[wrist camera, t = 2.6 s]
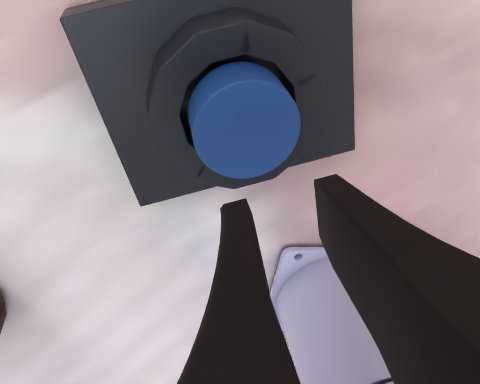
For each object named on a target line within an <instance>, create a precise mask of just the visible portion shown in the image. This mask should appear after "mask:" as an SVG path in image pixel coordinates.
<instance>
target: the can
mask: <svg viewBox="0 0 480 384" xmlns="http://www.w3.org/2000/svg"><path fill="white" fill-rule="evenodd" d="M5 317H6V309H5V304H4V301H3V299H2V298H1V296H0V333H1V330H2V327H3V324H4V320H5Z"/></svg>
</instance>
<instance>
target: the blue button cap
mask: <svg viewBox="0 0 480 384" xmlns="http://www.w3.org/2000/svg"><path fill="white" fill-rule="evenodd" d="M188 119H189V124H190V129H191V133H192V138H193V143H194V147H195V150H196V152H197V154H198V156H199V158H200V159H201V160H202V162H203V163H204V164H205V165H206V166H207V167H209V168H210V169H211V170H213V171H214V172H216V173H218V174H220V175H223V176H226V177H230V178H238V179H244V178H252V177H257V176H260V175H263V174H265V173H267V172H269V171H271V170H273V169H275V168H276V167H277V166H279V165H280V164H281V163H282V162H283V161H284V160H285V159H286V158H287V157H288V156H289V155H290V153H291V152H292V150H293V149H294V147H295V145H296V143H297V140H298V137H299V133H300V125H301V124H300V114H299V110H298V108H297V105H296V103H295V101H294V100H293V98H292V97H291V96H290V94H289V93H288V91H287V90H286V89H285V87H284V86H283V84H282V83H281V82H280V80H279V79H278V78H277V76H276V75H275V74H274V73H273V72H271V71H270V70H268V69H267V68H265V67H263V66H261V65H258V64H256V63H251V62H232V63H228V64H225V65H222V66H219V67H217V68H215V69H214V70H212V71H210V72H209V73H208V74H207V75H205V76H204V77H203V78H202V79H201V80H200V81H199V83H198V84H197V86H196V87H195V89H194V91H193V93H192V95H191V98H190V101H189V105H188Z"/></svg>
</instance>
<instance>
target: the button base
mask: <svg viewBox="0 0 480 384" xmlns="http://www.w3.org/2000/svg"><path fill="white" fill-rule="evenodd" d="M60 21H61V24H62V26H63V28H64V31H65V33H66V35H67V37H68V40H69V42H70V44H71V47H72V49H73V51H74V54H75V56H76V58H77V61H78V63H79V65H80V68H81V70H82V72H83V75H84V77H85V79H86V82H87V84H88V86H89V88H90V91H91V93H92V95H93V98H94V100H95V102H96V105H97V107H98V109H99V112H100V114H101V116H102V119H103V121H104V123H105V126H106V128H107V130H108V133H109V135H110V137H111V139H112V142H113V144H114V146H115V149H116V151H117V153H118V156H119V158H120V160H121V163H122V165H123V167H124V170H125V172H126V174H127V177H128V179H129V181H130V184H131V186H132V188H133V190H134V193H135V195H136V197H137V200H138V202H139V204H140V206H145V205H149V204H152V203H156V202H160V201H164V200H167V199H171V198H175V197H179V196H182V195H186V194H190V193H194V192H197V191H201V190H205V189H209V188H212V187H216V186H219V187H225V188H231V189H236V188H240V187H244V186H248V185H251V184H255V183H259V182H263V181H266V180H270V179H273V178H275V177H277V176H278V175H279V174H280V173H282V172H283V171H284V170H285V169H287V168H288V167H291V166H295V165H299V164H302V163H306V162H310V161H314V160H317V159H321V158H325V157H329V156H332V155H336V154H340V153H344V152H347V151H351V150H354V149H355V135H354V86H353V37H352V0H100V1H96V2H92V3H88V4H84V5H80V6H76V7H72V8H68V9H65V11H64V13H63V14H62V16H61V18H60ZM232 62H251V63H256V64H258V65H261V66H263V67H265V68H267V69H268V70H270V71H271V72H273V73H274V74H275V75H276V76H277V78H278V79H279V80H280V82H281V83H282V84H283V86H284V87H285V89H286V90H287V91H288V93H289V94H290V96H291V97H292V98H293V100H294V101H295V103H296V105H297V108H298V110H299V114H300V124H301V125H300V133H299V137H298V140H297V143H296V145H295V147H294V149H293V150H292V152H291V153H290V155H289V156H288V157H287V158H286V159H285V160H284V161H283V162H282V163H281V164H280V165H279V166H277V167H276V168H275V169H273V170H271V171H269V172H267V173H265V174H263V175H260V176H257V177H252V178H244V179H238V178H230V177H226V176H223V175H220V174H218V173H216V172H214V171H213V170H211V169H210V168H209V167H207V166H206V165H205V164H204V163H203V162H202V160H201V159H200V158H199V156H198V154H197V152H196V150H195V147H194V143H193V138H192V133H191V129H190V124H189V119H188V105H189V101H190V98H191V95H192V93H193V91H194V89H195V87H196V86H197V84H198V83H199V81H200V80H201V79H202V78H203V77H204V76H205V75H207V74H208V73H209V72H210V71H212V70H214V69H215V68H217V67H219V66H222V65H225V64H228V63H232Z"/></svg>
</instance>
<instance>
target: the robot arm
mask: <svg viewBox="0 0 480 384" xmlns="http://www.w3.org/2000/svg"><path fill="white" fill-rule="evenodd" d="M314 187H315V197H316V208H317V218H318V228H319V236H320V239H321V241H322V244H323V246H324V247H289V248H286V249H284V250H283V251H282V253H281V256H280V260H279V263H278V267H277V270H276V274H275V277H274V281H273V284H272V287H271V291H270V293H269V288H268V283H267V278H266V274H265V269H264V265H263V260H262V256H261V251H260V247H259V242H258V238H257V233H256V229H255V224H254V220H253V215H252V212H251V210H250V207H249V205H248V202H247V200H246V198H245V199H241V200H238V201H234V202H230V203H226V204H223V206H222V207H221V208H220V211H221V235H220V245H219V251H218V258H217V264H216V269H215V274H214V278H213V283H212V287H211V291H210V295H209V299H208V303H207V306H206V309H205V313H204V316H203V319H202V322H201V325H200V328H199V331H198V334H197V337H196V339H195V342H194V344H193V347H192V350H191V352H190V355H189V358H188V360H187V362H186V365H185V367H184V370H183V372H182V374H181V376H180V378H179V380H178V383H177V384H480V258H478V257H475V256H473V255H471V254H469V253H467V252H464V251H462V250H460V249H458V248H456V247H454V246H452V245H450V244H447V243H445V242H443V241H441V240H439V239H437V238H436V237H434V236H432V235H430V234H428V233H426V232H425V231H423V230H421V229H419V228H417V227H416V226H414V225H412V224H411V223H409V222H407V221H405V220H404V219H402V218H401V217H399V216H397V215H396V214H394V213H393V212H391V211H390V210H388V209H386V208H385V207H383V206H382V205H380V204H379V203H377V202H376V201H374V200H373V199H371V198H370V197H368V196H367V195H365V194H364V193H363V192H361V191H360V190H358V189H357V188H355V187H354V186H353V185H351V184H350V183H348V182H347V181H346V180H344V179H343V178H341V177H340V176H338V175H337V174H334V175H331V176H327V177H323V178H319V179H316V180H314ZM297 254H299V255H297ZM295 255H296V256H295ZM283 332H284V333H285V336H286V339H287V342H288V345H289V349H290V352H291V355H292V358H293V361H294V364H295V366H294V364H293V361H292V358H291V355H290V352H289V350H288V347H287V344H286V341H285V338H284V335H283ZM295 367H296V369H295ZM296 370H297V372H296ZM297 373H298V375H297ZM298 376H299V378H298ZM299 380H300V381H299Z"/></svg>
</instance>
